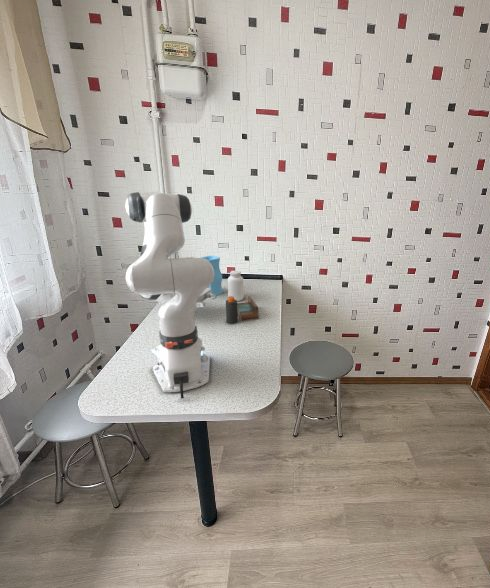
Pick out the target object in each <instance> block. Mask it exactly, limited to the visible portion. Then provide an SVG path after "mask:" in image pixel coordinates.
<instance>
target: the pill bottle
mask: <svg viewBox="0 0 490 588" xmlns="http://www.w3.org/2000/svg"><path fill="white" fill-rule="evenodd" d="M241 274H242V273H241V271H240V270H231V271H230V272H229V276H228V278H227V295H228V297H230V296H233V297H234V300H237V302H239V301H242V300H244V298H245V295H244V277H243V276H242V275H241ZM228 297H227V298H228Z"/></svg>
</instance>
